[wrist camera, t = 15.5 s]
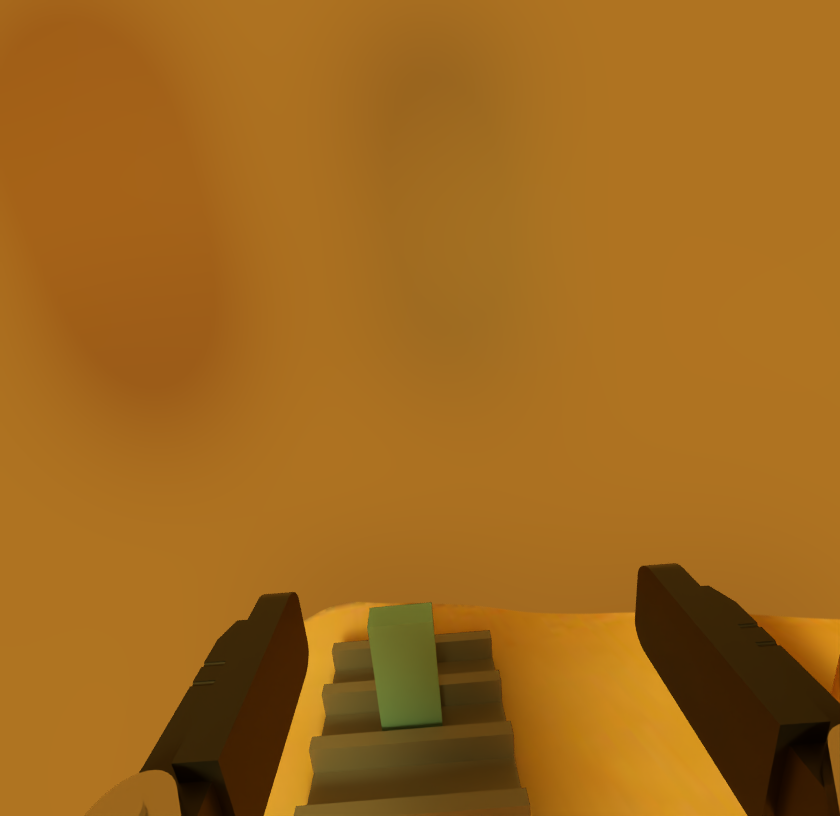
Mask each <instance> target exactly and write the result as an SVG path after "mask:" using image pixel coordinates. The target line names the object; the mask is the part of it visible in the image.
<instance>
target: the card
mask: <svg viewBox="0 0 840 816" xmlns="http://www.w3.org/2000/svg"><path fill="white" fill-rule="evenodd" d="M367 628H368V635H369V642H370V649H371V656H372V663H373V670H374V677H375V684H376V691H377V698H378V705H379V712H380V719H381V726H382V731H391V730H404V729H416V728H428V727H441V726H443V723H442V711H441V700H440V689H439V678H438V667H437V657H436V646H435V635H434V624H433V613H432V603H419V604H408V605H397V606H386V607H374V608H370V611H369V618H368V626H367Z"/></svg>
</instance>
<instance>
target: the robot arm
mask: <svg viewBox="0 0 840 816" xmlns="http://www.w3.org/2000/svg"><path fill="white" fill-rule="evenodd" d="M635 626H636V631H637V635H638V638H639V641H640V644H641V646H642V648H643V650H644V652H645V653H646V655H647V657H648V658H649V660H650V661H651V663H652V664H653V666H654V668H655V669H656V671H657V672H658V674H659V676H660V677H661V679H662V680H663V682H664V684H665V685H666V687H667V688H668V690H669V691H670V693H671V695H672V696H673V698H674V699H675V701H676V703H677V704H678V706H679V707H680V709H681V711H682V712H683V714H684V715H685V717H686V719H687V720H688V722H689V723H690V725H691V726H692V728H693V730H694V731H695V733H696V734H697V736H698V738H699V739H700V741H701V742H702V744H703V746H704V747H705V749H706V750H707V752H708V753H709V755H710V757H711V758H712V760H713V761H714V763H715V765H716V766H717V768H718V769H719V771H720V773H721V774H722V776H723V777H724V779H725V780H726V782H727V784H728V785H729V787H730V788H731V790H732V792H733V793H734V795H735V796H736V798H737V800H738V801H739V803H740V804H741V806H742V807H743V809H744V811H745V812H746V814H747V815H748V816H840V656H839V660H838V665H837V669H836V674H835V678H834V682H833V687H832V691H831V694H830V693H829V692H828V691H827V690H826V689H825V688H824V687H823V686H822V685H821V684H820V683H819V682H817V681H816V680H815V679H814V678H813V677H812V676H811V675H810V674H809V673H808V672H807V671H806V670H805V669H804V668H803V667H802V666H801V665H800V664H799V663H798V662H797V661H796V660H795V659H794V658H793V657H792V656H791V655H790V654H789V653H788V652H787V651H786V650H785V649H784V648H783V647H781V646H780V645H777V644H776V641H775V640H774V639H773V638H772V637H771V636H770V635H769V634H768V633H767V632H766V631H765V630H764V629H763V628H762V627H758V625H757V622H756V621H755V620H754V619H753V618H752V617H751V616H750V615H749V614H748V613H747V612H745V611H744V610H743V609H742V608H741V607H740V606H739V605H738V604H737V603H736V602H735V601H733V600H731V599H730V598H728V597H727V596H725V595H723V594H722V593H720V592H718V591H716V590H715V589H713V588H712V587H710V586H700V585H699V584H698V583H697V582H696V581H695V580H694V579H693V578H692V577H691V576H690V575H689V574H688V573H687V572H686V571H685V569H684V568H682V567H681V566H680V565H678V564H674V563H673V564H660V565H649V566H642V567H640V568H639V571H638V580H637V597H636V612H635ZM308 656H309V650H308V641H307V636H306V632H305V627H304V622H303V617H302V612H301V608H300V603H299V598H298V596H297V594H296V593H295V592H289V593H278V594H264V595H262V596H261V597H260V598H259V599H258V601H257V603H256V605H255V607H254V609H253V611H252V613H251V614H250V616H249V618H248V620H239V621H237V622H236V623H235V624H233V625H232V626H231V627H230V628H229V629H228V630H227V631H226V632H225V633H224V634H223V635H222V636H221V637H220V638H219V639H218V640H217V642H216V643H215V645H214V647H213V649H212V650H211V652H210V654H209V655H208V657H207V659H206V660H205V662H204V664H205V665H204V667H201V669H200V671H199V672H198V674H197V676H196V677H195V679H194V681H193V686H192V687H190V688H189V690H188V691H187V693H186V694H185V696H184V698H183V700H182V701H181V703H180V705H179V707H178V708H177V710H176V711H175V713H174V715H173V717H172V718H171V720H170V722H169V723H168V725H167V727H166V729H165V730H164V732H163V734H162V735H161V737H160V739H159V741H158V742H157V744H156V746H155V747H154V749H153V751H152V753H151V754H150V756H149V757H148V759H147V761H146V763H145V764H144V766H143V768H142V769H141V771H140V772H139V773H138V774H136V775H134V776H131V777H130V778H128V779H126V780H124V781H122V782H121V783H119V784H118V785H117V786H115V787H113V788H112V789H111V790H110V791H108V792H107V793H106V794H105V795H104V796H102V797H101V798H100V799H99V800H98V801H97V802H96V803H95V804H94V805H93V806H92V807H91V809H90V810H89V811H88V812H87V813H86V814H85V816H264V812H265V809H266V806H267V802H268V799H269V796H270V793H271V789H272V786H273V783H274V779H275V776H276V773H277V769H278V766H279V763H280V759H281V756H282V753H283V749H284V746H285V743H286V739H287V736H288V733H289V729H290V726H291V723H292V719H293V716H294V713H295V709H296V706H297V703H298V699H299V696H300V693H301V689H302V686H303V683H304V679H305V676H306V672H307V667H308Z"/></svg>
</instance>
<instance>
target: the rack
mask: <svg viewBox="0 0 840 816" xmlns="http://www.w3.org/2000/svg"><path fill="white" fill-rule="evenodd" d="M435 646H436V657H437V667H438V678H439V689H440V700H441V711H442V723H443V726H441V727H428V728H416V729H404V730H391V731H382V726H381V719H380V712H379V705H378V698H377V691H376V684H375V677H374V670H373V663H372V656H371V649H370V642H369V640H365V641H353V642H341V643H334V645H333V649H332V654H333V660H334V666H335V675H334V680H333V684H324V688H323V692H322V698H323V703H324V708H325V714H326V718H325V723H324V728H323V733H322V736H317V737H312V740H311V744H310V748H309V753H310V758H311V762H312V767H313V772H314V775H313V780H312V785H311V790H310V794H309V799H308V804H307V805H305V806H296V809H295V813H294V816H530V803H529V799H528V794H527V790H526V788H521V786H520V781H519V777H518V772H517V767H516V763H515V758H514V734H513V729H512V725H511V721H506V718H505V713H504V709H503V704H502V690H501V678H500V673H499V670H495V668H494V663H493V659H492V640H491V634H490V630H486V631H474V632H462V633H450V634H438V635H435Z"/></svg>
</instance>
